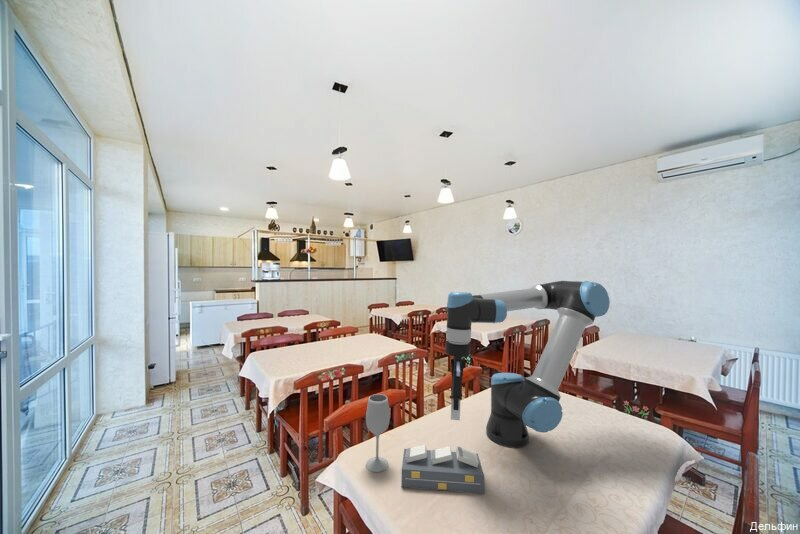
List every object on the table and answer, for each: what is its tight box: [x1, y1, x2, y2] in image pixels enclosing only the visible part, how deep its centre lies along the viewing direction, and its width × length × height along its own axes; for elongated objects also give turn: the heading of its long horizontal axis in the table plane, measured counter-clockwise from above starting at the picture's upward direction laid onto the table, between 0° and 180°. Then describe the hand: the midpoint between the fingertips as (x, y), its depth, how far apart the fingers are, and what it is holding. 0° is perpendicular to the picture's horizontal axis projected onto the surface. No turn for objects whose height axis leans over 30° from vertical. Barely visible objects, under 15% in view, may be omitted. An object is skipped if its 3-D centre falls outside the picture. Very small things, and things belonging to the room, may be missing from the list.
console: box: [400, 448, 485, 494], centre depth 88 cm, size 23×10×5 cm, turn 85°
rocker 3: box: [455, 446, 479, 467], centre depth 87 cm, size 6×4×2 cm
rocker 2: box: [431, 445, 453, 464], centre depth 88 cm, size 6×4×2 cm
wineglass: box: [365, 393, 391, 473], centre depth 94 cm, size 8×8×21 cm
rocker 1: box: [406, 444, 428, 463], centre depth 89 cm, size 6×4×2 cm
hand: (455, 418), depth 91 cm, fingers closed
